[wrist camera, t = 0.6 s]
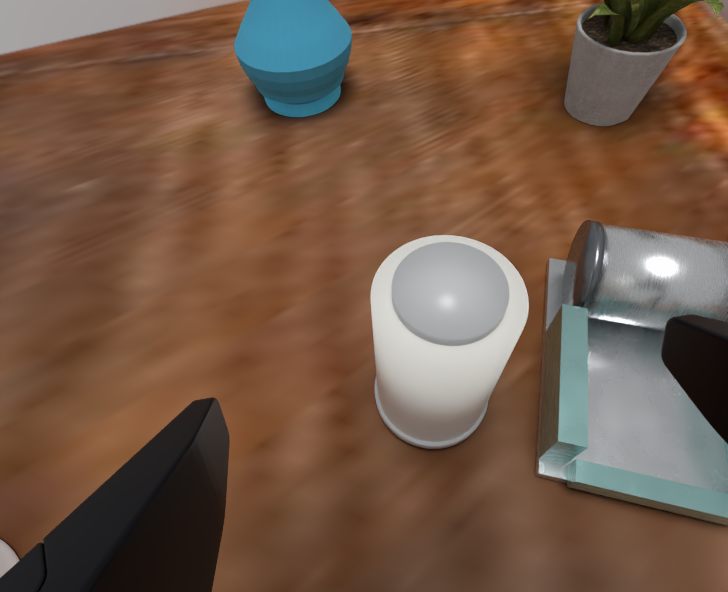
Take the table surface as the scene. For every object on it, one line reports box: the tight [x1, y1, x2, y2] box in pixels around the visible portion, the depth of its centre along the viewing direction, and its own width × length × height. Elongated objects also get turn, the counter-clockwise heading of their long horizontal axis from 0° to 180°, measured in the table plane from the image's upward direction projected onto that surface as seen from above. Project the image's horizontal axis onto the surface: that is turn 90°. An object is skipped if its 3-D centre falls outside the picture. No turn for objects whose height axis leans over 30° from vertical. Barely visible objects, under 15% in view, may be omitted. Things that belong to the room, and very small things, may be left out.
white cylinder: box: [371, 235, 529, 449], centre depth 20 cm, size 6×6×10 cm
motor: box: [535, 220, 728, 526], centre depth 22 cm, size 13×10×6 cm
